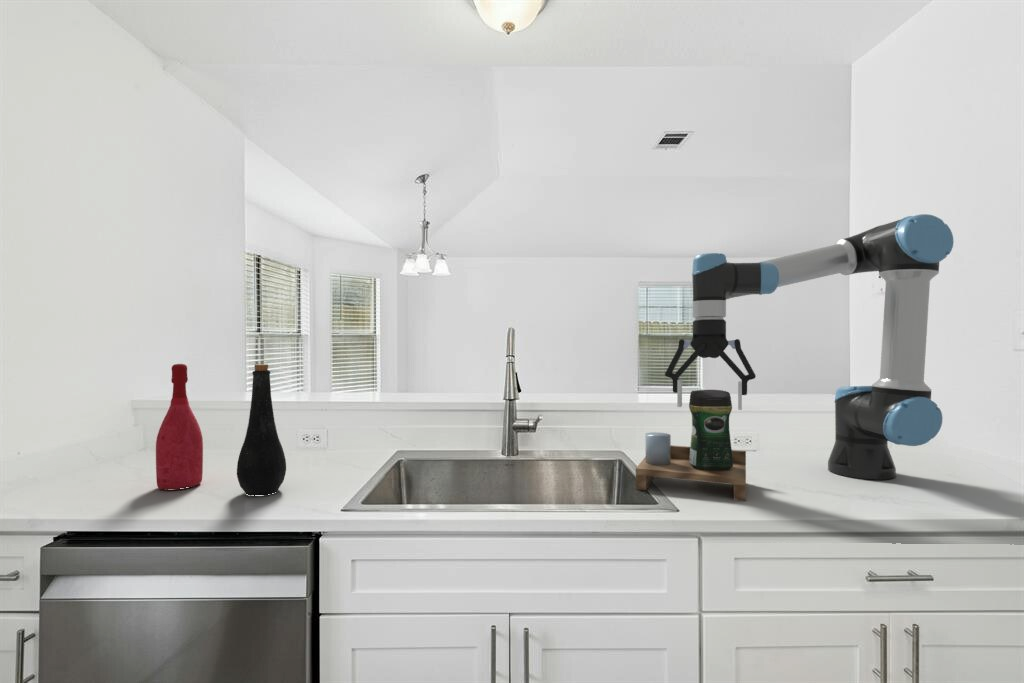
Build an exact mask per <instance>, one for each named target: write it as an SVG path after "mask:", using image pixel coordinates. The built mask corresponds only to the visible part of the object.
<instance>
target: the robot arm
mask: <svg viewBox="0 0 1024 683" xmlns="http://www.w3.org/2000/svg"><path fill="white" fill-rule="evenodd" d="M953 248H954V235H953V232H952V230H951V228H950V227H949V225H948V224H947V223H945V222H944V220H943V219H941V218H939V217H938V216H935V215H932V214H927V213H926V214H924V213H923V214H916V215H909V216H905V217H903V218H901V219H897V220H894V221H892V222H891V221H890V222H888V223H884V224H881V225H878V226H875V227H873V228H870V229H868V230H865V231H863V232H860V233H858V234H856V235H855V234H854V235H852V236H848V237H846V238H843V239H842V238H841V239H839V240H836V241H835V242H834V244H832V245H829V246H828V245H827V246H824V247H819V248H815V249H811V250H810V249H809V250H807V251H802V252H798V253H794V254H790V255H786V256H782V257H776V258H773V259H767V260H764V261H759V262H727V261H728V259H727V256H726V255H725V253H719V252H718V253H717V252H714V253H713V252H709V253H702V254H697V255H696V256H694V258H693V260H692V272H691V276H692V318H694V320H693V321H692V338H691V340H686V339H683V338H681V339H679V341H678V348H677V350H676V352H675V354H674V356H673V358H672V360H671V362H670V363H669V366H668V367H667V369H666V371H665V373H664V375H665V377H667V378H669V379H671V380H672V392H673V393H674V394H675V393H676V395H677V405H676V407H677V408H682V406H683V382H682V381H683V379H679V378H680V377H681V376H682V375H683V374H684V372H686V370H687V369H688V368H689V367H690V366H691V365H692V364H693V362H695V360H696V359H697V358H698V357H700V358H701V359H706V358H711V359H717V358H719V357H720V358H721V359H722V360H723V361H724V362H725V364H726V365H728V367H729V368H730V369H731V370H732V371H733V372H734V373H735V375H736V376H737V377H738V378H739V379H740V380H738V383H737V385H738V386H737V387H738V388H737V389H738V390H737V391H738V393H737V394H738V395H737V399H738V400H737V402H738V403H737V405H738V406H737V409H738V410H739V411H742V410H743V396H747V395H748V382H749V381H751V380H754V379H756V373H755V371H754V370H753V368H752V366H751V364H750V362H749V361H748V358H747V356H746V355H745V353H744V350H742V345H741V340H740V338H739V339H738V338H737V339H733V340H730V339H729V340H728V339H727V321H726V319H724V318H726V317H727V300H729V299H733V298H740V297H744V296H751V295H759V296H762V295H771V294H773V293H774V292H775V291H776V290H777V288H780V287H784V286H788V285H793V284H797V283H801V282H807V281H811V280H815V279H819V278H822V277H823V278H824V277H828V276H833V275H837V274H841V275H843V276H850V275H854V274H860V273H861V274H862V273H871V272H878V275H879V276H880V277H881V278H882V279H883V280H884V281H885V288H884V289H885V292H884V307H883V320H882V321H883V322H882V323H883V324H882V339H881V340H882V341H881V353H880V356H881V357H880V371H879V378H878V379H877V381H875V382H874V383H872V385H857V386H856V385H855V386H853V385H852V386H840V387H838V388H837V390H836V391H835V397H834V410H835V412H834V413H835V416H834V418H835V419H834V421H835V423H834V424H835V425H834V426H835V427H834V428H835V437H834V438H835V441H834V444H833V447H832V450H831V453H830V456H829V457H828V460H827V470H828V472H831V473H834V474H837V475H840V476H845V477H850V478H855V479H865V480H875V481H876V480H881V481H882V480H884V481H885V480H891V479H895V478H896V477H897V476H896V475H897V470H896V469H897V468H896V465H895V463H894V460H893V457H892V455H891V451H890V449H889V446H888V442H889V443H893V444H895V445H901V446H907V447H918V446H922V445H925V444H927V443H929V442H930V441H931V440H932V439H934V438H935V437H936V436H937V435H938V433H939V432H940V430H941V428H942V425H943V413H942V410H941V408H939V407H938V404H937V403H936V402H935V401H933V400H932V388H930V387H929V386H928V385H927V384H926V383H925V366H926V353H927V350H926V349H927V335H928V334H927V333H928V320H929V319H928V318H929V301H930V286H931V281H932V279H933V278H935V277H936V276H937V275H939V273H940V262H942V261H943V260H944V259H946V258H947V256H948V255H950V253H952V250H953ZM689 346H691V348H692V349H693V353H692V354H690V356H689V357H688V358H687V359H686V361H684V362H683V364H682V365H681V366H680V368H679V369H677V370H676V372H674V370H675V368H676V367H677V364H678V362H679V360H680V359H681V357H682V355H683V352H684V350H686V349H687V348H688V347H689ZM728 346H730V347H731V349H733V350H735V352H736V354H737V356H738V358H739V359H740V361H741V363H742V365H743V367H744V369H745V370H746V372H747V374H745V373H744V372H742V370H741V369H740V368H739V367H738V366H737V365H736V363H735V362H734V361H733V360H732V359H731V358H730V356H728V354H727V353H726V352H725V350H726V349H727V347H728Z"/></svg>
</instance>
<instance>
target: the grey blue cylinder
mask: <svg viewBox="0 0 1024 683" xmlns="http://www.w3.org/2000/svg"><path fill="white" fill-rule="evenodd" d="M671 440H672V439H671V434H670V433H667V432H656V431H655V432H646V433H645V457H646V463H647V464H651V465H669V464H671V442H672V441H671Z"/></svg>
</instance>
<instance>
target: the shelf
mask: <svg viewBox="0 0 1024 683" xmlns="http://www.w3.org/2000/svg"><path fill="white" fill-rule="evenodd" d="M746 452H747V450H738V449H732V457H733V467H732V468H730V469H724V470H705V469H699V468H696V467H695V468H694V467H693V466H691V464H690V446H685V445H684V446H683V445H671V464H669V465H651V464H647V463H646V456H645V457H643V459H642V460H641V461H640V462H639V464H638V465H637V466H636V467H635V490H638V491H639V490H641V491H647V489H648V488H649V487H650V485H651V483H652V482H653V481H654V479H655V477H656V478H657V477H658V478H665V479H666V478H668V479H676V480H677V479H679V480H689V481H699V482H707V483H709V482H710V483H717V484H718V483H719V484H729V485H733V500H734V501H738V502H739V501H741V502H746V501H747V500H746V499H747V498H746V495H747V490H746V489H747V486H746V485H747V482H746V481H747V469H746V468H747V467H746V466H747V456H746V454H747V453H746Z"/></svg>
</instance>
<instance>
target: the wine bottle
mask: <svg viewBox="0 0 1024 683" xmlns="http://www.w3.org/2000/svg"><path fill="white" fill-rule="evenodd" d="M188 381H189V379H188V366H187V365H186V364H184V363H176V364H173V365H172V366H171V380H170V382H171V383H172V396H171V399H170V405H169V408H168V410H167V412H166V414H165V416H164V418H163V420H162V423H160V424H161V425H160V427H159V429H158V433H157V435H156V441H155V473H156V474H155V475H156V487H157V488H158V489H159V488H160V489H159V490H162V489H167V490H166V491H169V490H168V489H180V488H186V487H191V486H194V487H196V486H195V485H197V486H198V484H199V485H200V484H201V483H202V481H203V472H204V471H203V470H204V442H203V440H204V439H203V434H202V433H203V432H202V430H201V427H200V425H199V422H198V421H197V419H196V418H197V417H196V416H195V414H194V412H193V410H192V408H191V406H190V402H189V399H188V395H187V388H186V387H187V382H188ZM191 488H192V487H191Z"/></svg>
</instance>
